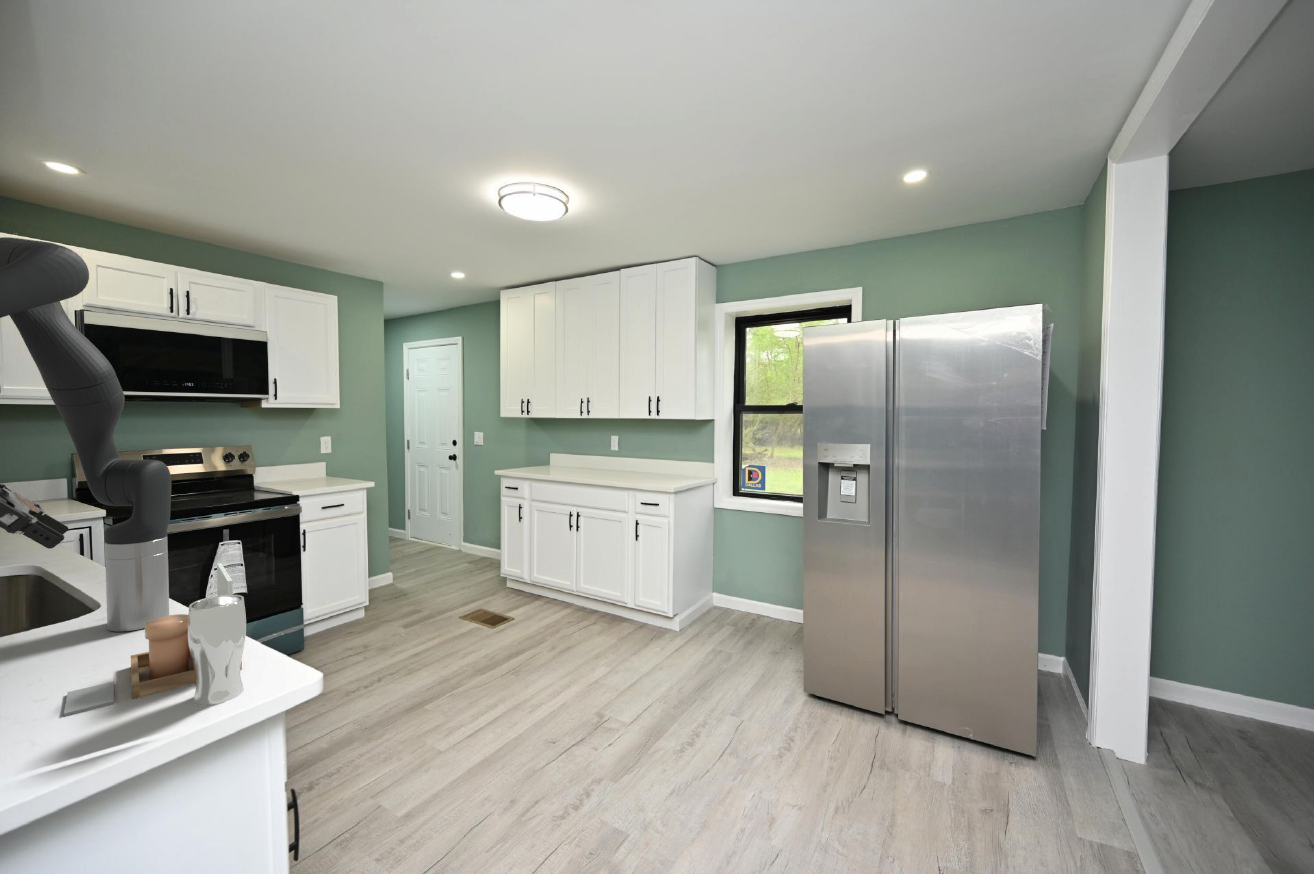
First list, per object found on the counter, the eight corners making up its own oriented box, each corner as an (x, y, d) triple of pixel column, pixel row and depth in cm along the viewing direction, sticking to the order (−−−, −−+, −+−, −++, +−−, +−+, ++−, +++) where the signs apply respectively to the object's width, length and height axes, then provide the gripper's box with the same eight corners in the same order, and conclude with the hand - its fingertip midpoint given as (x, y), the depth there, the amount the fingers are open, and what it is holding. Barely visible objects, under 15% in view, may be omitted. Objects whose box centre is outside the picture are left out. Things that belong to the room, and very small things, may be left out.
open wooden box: (131, 670, 93) (129, 602, 93) (230, 647, 102) (229, 585, 102) (132, 702, 83) (130, 626, 83) (242, 674, 92) (241, 605, 92)
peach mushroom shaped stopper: (145, 674, 91) (144, 620, 90) (190, 664, 94) (189, 611, 94) (147, 687, 87) (145, 630, 86) (193, 675, 90) (192, 621, 90)
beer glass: (235, 707, 82) (233, 607, 82) (179, 714, 80) (176, 611, 80) (255, 684, 89) (253, 592, 88) (203, 690, 87) (201, 596, 86)
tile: (67, 698, 84) (67, 692, 84) (114, 687, 87) (113, 681, 87) (64, 720, 78) (63, 713, 78) (113, 707, 82) (113, 701, 82)
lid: (217, 612, 101) (216, 563, 100) (222, 611, 101) (221, 562, 101) (229, 635, 91) (227, 581, 90) (233, 634, 91) (232, 580, 91)
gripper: (-46, 448, 72) (84, 525, 80) (-26, 443, 82) (87, 512, 90) (-114, 492, 68) (29, 569, 77) (-84, 482, 78) (39, 550, 87)
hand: (60, 538), depth 83 cm, fingers open, 8 cm apart
